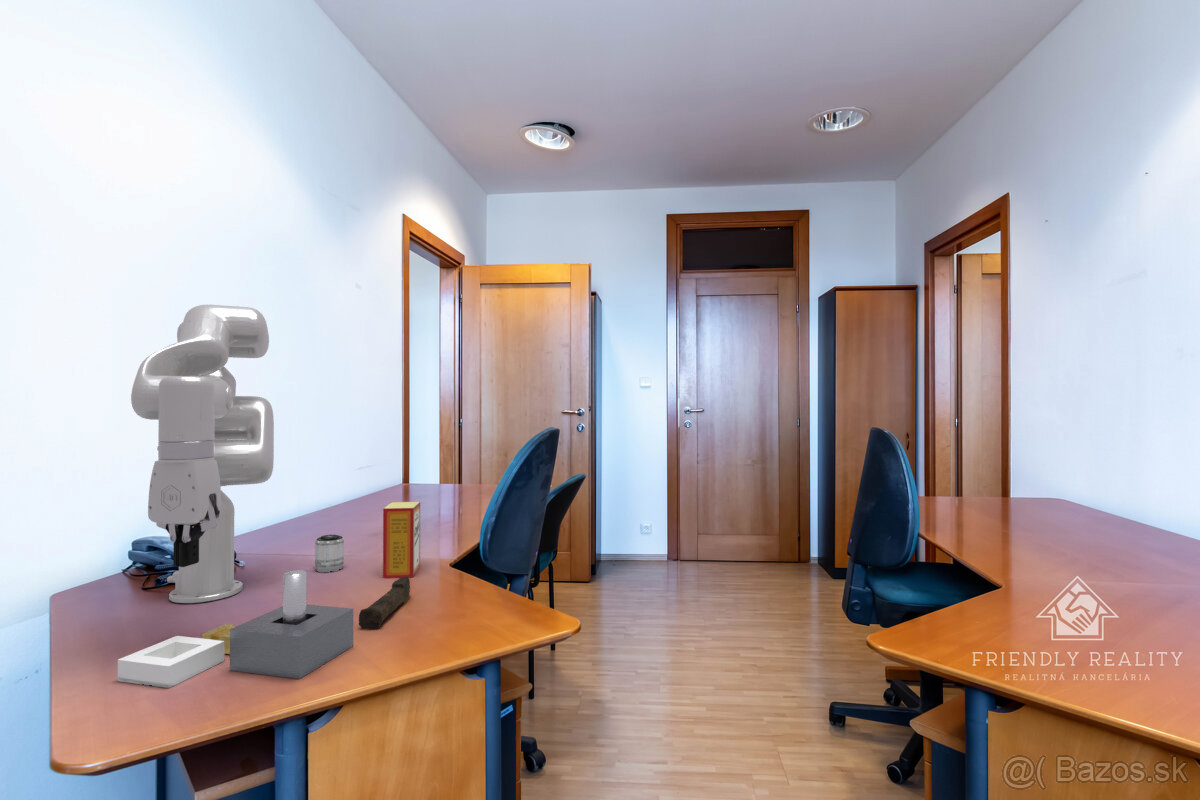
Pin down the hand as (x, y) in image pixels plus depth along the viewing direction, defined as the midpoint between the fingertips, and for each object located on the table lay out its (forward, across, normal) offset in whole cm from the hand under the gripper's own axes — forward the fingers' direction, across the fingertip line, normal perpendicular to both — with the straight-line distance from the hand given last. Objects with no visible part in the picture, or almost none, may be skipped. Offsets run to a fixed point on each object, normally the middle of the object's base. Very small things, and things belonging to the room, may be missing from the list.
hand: (186, 564), depth 97 cm
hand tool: (+13, +23, +21) cm, 34 cm away
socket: (+13, +21, -1) cm, 24 cm away
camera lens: (+13, -6, +44) cm, 46 cm away
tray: (+13, +7, -8) cm, 17 cm away
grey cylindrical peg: (+13, +21, -1) cm, 24 cm away
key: (+13, +12, 0) cm, 18 cm away
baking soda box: (+13, +12, +46) cm, 49 cm away
